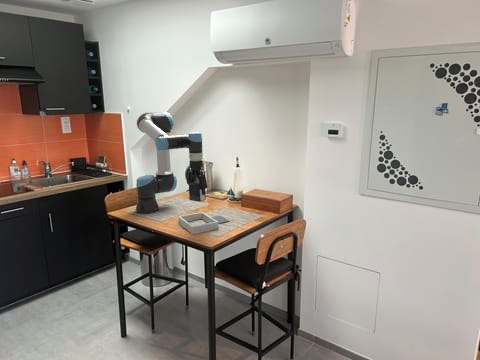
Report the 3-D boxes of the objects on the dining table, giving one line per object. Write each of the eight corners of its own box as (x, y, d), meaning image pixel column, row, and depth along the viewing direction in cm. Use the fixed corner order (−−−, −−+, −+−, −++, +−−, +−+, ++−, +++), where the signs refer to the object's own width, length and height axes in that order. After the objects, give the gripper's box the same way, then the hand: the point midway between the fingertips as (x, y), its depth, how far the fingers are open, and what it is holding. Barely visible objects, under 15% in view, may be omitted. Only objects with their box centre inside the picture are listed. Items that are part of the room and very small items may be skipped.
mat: (206, 219, 215) (206, 218, 215) (220, 216, 220) (220, 215, 220) (214, 224, 205) (214, 223, 205) (229, 221, 210) (229, 220, 210)
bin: (178, 222, 209) (178, 216, 208) (202, 218, 217) (202, 211, 216) (192, 234, 191) (192, 227, 190) (218, 228, 198) (218, 221, 198)
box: (205, 199, 201) (205, 181, 199) (200, 202, 196) (199, 184, 194) (195, 198, 205) (194, 180, 203) (189, 200, 200) (188, 182, 198)
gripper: (179, 158, 201) (181, 196, 206) (202, 162, 185) (203, 203, 190) (190, 157, 206) (191, 193, 211) (213, 161, 191) (214, 200, 195)
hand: (197, 198), depth 201 cm, fingers closed on box, 9 cm apart
